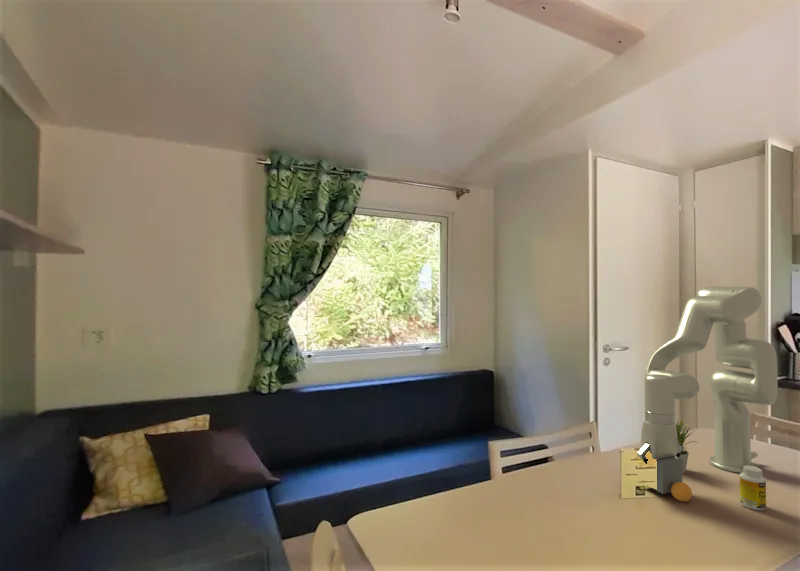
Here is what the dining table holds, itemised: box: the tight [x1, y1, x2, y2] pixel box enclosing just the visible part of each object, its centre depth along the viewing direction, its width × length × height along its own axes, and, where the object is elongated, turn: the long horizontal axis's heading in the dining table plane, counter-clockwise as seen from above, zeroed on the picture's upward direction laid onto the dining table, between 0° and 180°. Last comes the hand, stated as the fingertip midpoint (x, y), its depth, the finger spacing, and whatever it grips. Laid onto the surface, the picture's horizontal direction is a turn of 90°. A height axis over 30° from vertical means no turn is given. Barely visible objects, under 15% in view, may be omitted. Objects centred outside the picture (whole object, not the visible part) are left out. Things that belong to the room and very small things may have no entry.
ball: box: [670, 481, 693, 502], centre depth 122 cm, size 5×5×5 cm
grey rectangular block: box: [656, 456, 683, 495], centre depth 128 cm, size 8×8×9 cm
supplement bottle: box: [739, 466, 767, 511], centre depth 119 cm, size 6×6×10 cm
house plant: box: [676, 419, 699, 474], centre depth 144 cm, size 14×14×16 cm
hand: (660, 477), depth 128 cm, fingers closed on grey rectangular block, 7 cm apart
